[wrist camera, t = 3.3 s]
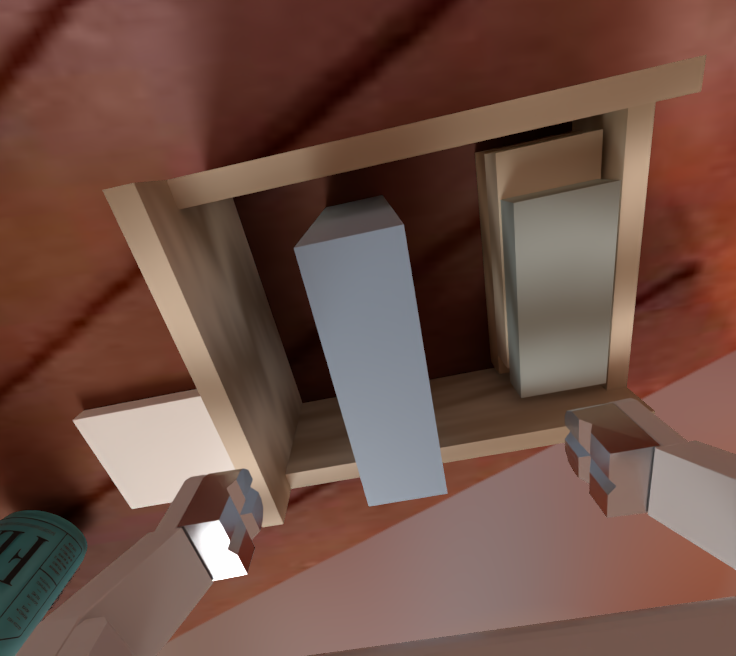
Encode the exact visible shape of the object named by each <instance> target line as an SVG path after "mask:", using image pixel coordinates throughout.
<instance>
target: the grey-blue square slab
mask: <svg viewBox="0 0 736 656" xmlns="http://www.w3.org/2000/svg"><path fill="white" fill-rule="evenodd" d="M294 251H295V254H296V258H297V261H298V265H299V268H300V272H301V275H302V279H303V282H304V285H305V289H306V292H307V296H308V299H309V303H310V306H311V309H312V313H313V316H314V320H315V323H316V327H317V330H318V334H319V337H320V340H321V344H322V347H323V351H324V354H325V358H326V361H327V364H328V368H329V371H330V375H331V378H332V382H333V385H334V389H335V392H336V395H337V399H338V402H339V406H340V409H341V413H342V416H343V419H344V423H345V426H346V430H347V433H348V437H349V440H350V444H351V447H352V450H353V454H354V457H355V461H356V464H357V468H358V471H359V474H360V478H361V481H362V485H363V488H364V492H365V495H366V499H367V502H368V505H369V506H374V505H380V504H387V503H393V502H399V501H405V500H411V499H417V498H423V497H429V496H435V495H441V494H447V488H446V482H445V476H444V470H443V464H442V457H441V451H440V445H439V439H438V433H437V427H436V420H435V414H434V408H433V402H432V396H431V389H430V383H429V377H428V371H427V365H426V359H425V352H424V346H423V340H422V334H421V328H420V321H419V315H418V309H417V303H416V297H415V291H414V284H413V278H412V272H411V266H410V260H409V253H408V247H407V241H406V235H405V229H404V224H403V223H402V221H401V220H400V218H399V217H398V216H397V214H396V213H395V211H394V210H393V209H392V207H391V206H390V205H389V203H388V202H387V200H386V199H385V198H384V196H383V195H380V196H375V197H371V198H366V199H362V200H357V201H353V202H348V203H344V204H339V205H334V206H330V207H326V208H325V209H324V210H323V211H322V213H321V214H320V215H319V217H318V218H317V219H316V220H315V222H314V223H313V224H312V225H311V227H310V228H309V229H308V230H307V232H306V233H305V234H304V236H303V237H302V238H301V239H300V241H299V242H298V243H297V244H296V246H295V247H294Z"/></svg>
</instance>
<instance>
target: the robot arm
mask: <svg viewBox="0 0 736 656" xmlns="http://www.w3.org/2000/svg"><path fill="white" fill-rule="evenodd" d="M564 424H565V426H566V427H567V428H568V429H569V431H570V432H569V434H568V435H567V436H566V438H565V451H566V454H567V457H568V461H569V463H570V465H571V467H572V469H573V471H574V472H575V474H576V475H577V477H578V478H579V479H581V480H583V481H585V482H587V483H589V485H590V486H589V489H590V491H589V493H590V495H591V496H592V498H593V499H594V500H595V502H596V503H597V505H598V506H599V507H600V509H601V510H602V511H603V513H604V514H605V516H606V517H607V518H609V517H617V516H625V515H633V514H641V513H648V515H649V516H651V517H652V518H654V519H656V520H657V521H659V522H660V523H662V524H664V525H665V526H667V527H668V528H670V529H672V530H673V531H675V532H676V533H678V534H680V535H681V536H683V537H684V538H686V539H688V540H689V541H691V542H692V543H694V544H695V545H697V546H699V547H700V548H702V549H704V550H705V551H707V552H708V553H710V554H711V555H713V556H715V557H716V558H718V559H719V560H721V561H723V562H724V563H726V564H727V565H729V566H731V567H732V568H734V569H735V570H736V454H733V453H730V452H727V451H725V450H722V449H719V448H716V447H713V446H710V445H707V444H704V443H701V442H698V441H690V442H688V441H687V440H686V439H684V438H683V437H682V436H681V435H679V434H678V433H677V432H676V431H674V430H673V429H672V428H671V427H670V426H668V425H667V424H666V423H665V422H663V421H662V420H661V419H660V418H658V417H657V416H656V415H655V414H653V413H652V412H651V411H650V410H649V409H647V408H646V407H645V406H644V405H642V404H641V403H640V402H639V401H637V400H635V399H632V398H628V399H623V400H618V401H613V402H609V403H605V404H600V405H594V406H589V407H584V408H578V409H573V410H567V411H566V413H565V423H564ZM252 481H253V478H252V476H251V474H250V472H249V470H247V469H244V468H243V469H236V470H230V471H223V472H217V473H210V474H207V475H200V476H193V477H190V478H188V479H187V480H185V481H184V483H183V485H182V486H181V488H180V490H179V492H178V493H177V495H176V497H175V498H174V500H173V502H172V503H171V505H170V507H169V508H168V510H167V512H166V513H165V515H164V517H163V518H162V520H161V522H160V523H159V525H158V527H157V528H156V530H155V532H151V533H148V534H147V535H145V536H144V537H143V538H142V539H140V540H139V541H138V542H137V543H136V544H134V545H133V546H132V547H131V548H130V549H128V550H127V551H126V552H125V553H124V554H122V555H121V556H120V557H119V558H118V559H116V560H115V561H114V562H113V563H111V564H110V565H109V566H108V567H107V568H105V569H104V570H103V571H102V572H101V573H99V574H98V575H97V576H96V577H95V578H93V579H92V580H91V581H90V582H89V583H87V584H86V585H85V586H84V587H82V588H81V589H80V590H79V591H78V592H76V593H75V594H74V595H73V596H72V597H70V598H69V599H68V600H67V601H66V602H64V603H63V604H62V605H61V606H60V607H58V608H57V609H56V610H55V611H54V612H52V613H51V614H50V615H49V616H47V617H46V618H45V619H44V620H43V621H41V622H40V623H39V624H38V625H37V626H36V628H35V629H34V631H33V632H32V633H31V635H30V636H29V637H28V639H27V640H26V641H25V643H24V644H23V646H22V647H21V648H20V650H19V651H18V652H17V654H16V655H15V656H157V655H158V653H159V652H160V651H161V650H162V648H163V647H164V646H165V644H166V643H167V642H168V641H169V639H170V638H171V637H172V635H173V634H174V633H175V631H176V630H177V629H178V628H179V626H180V625H181V624H182V622H183V621H184V620H185V619H186V617H187V616H188V615H189V613H190V612H191V611H192V610H193V608H194V607H195V606H196V604H197V603H198V602H199V600H200V599H201V598H202V597H203V595H204V594H205V593H206V591H207V590H208V589H209V588H210V586H211V585H212V584H213V581H214V580H219V579H225V578H230V577H235V576H240V575H246V574H247V573H248V570H249V566H250V563H251V560H252V556H253V553H254V550H255V546H254V544H253V542H252V539H253V538H254V537H255V536H256V535H257V534H258V533H259V531H260V529H261V525H262V522H263V504H262V499H261V497H260V494H259V492H258V491H256V490H255V489H253V488H251V487H250V486H251V483H252ZM309 656H736V596H735V597H728V598H720V599H713V600H706V601H699V602H691V603H684V604H677V605H670V606H663V607H655V608H648V609H641V610H634V611H626V612H619V613H612V614H605V615H598V616H590V617H583V618H576V619H569V620H562V621H554V622H547V623H540V624H533V625H526V626H518V627H512V628H505V629H497V630H490V631H483V632H476V633H469V634H462V635H454V636H447V637H439V638H432V639H425V640H418V641H410V642H404V643H396V644H388V645H381V646H375V647H367V648H359V649H353V650H345V651H338V652H330V653H323V654H316V655H309Z"/></svg>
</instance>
